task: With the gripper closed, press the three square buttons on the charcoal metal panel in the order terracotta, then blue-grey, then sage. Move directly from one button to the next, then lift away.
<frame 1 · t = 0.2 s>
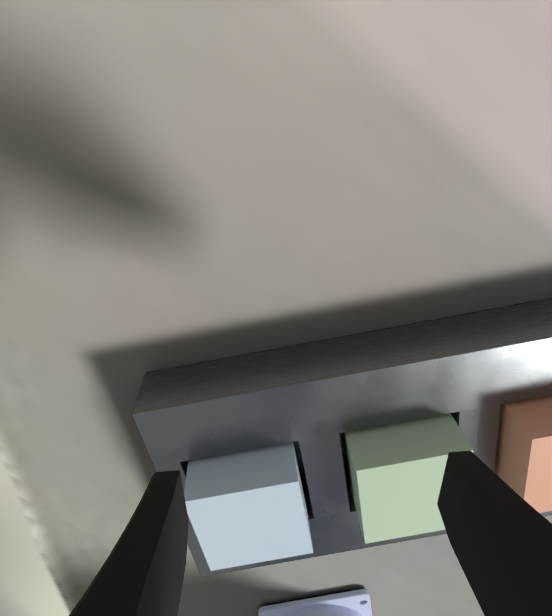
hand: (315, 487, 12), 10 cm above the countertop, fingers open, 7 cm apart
sage button: (404, 473, 21), point 3 cm above the countertop, slide at 0.0 cm
blue-grey button: (251, 500, 21), point 3 cm above the countertop, slide at 0.0 cm
button panel: (383, 422, 24), on the countertop
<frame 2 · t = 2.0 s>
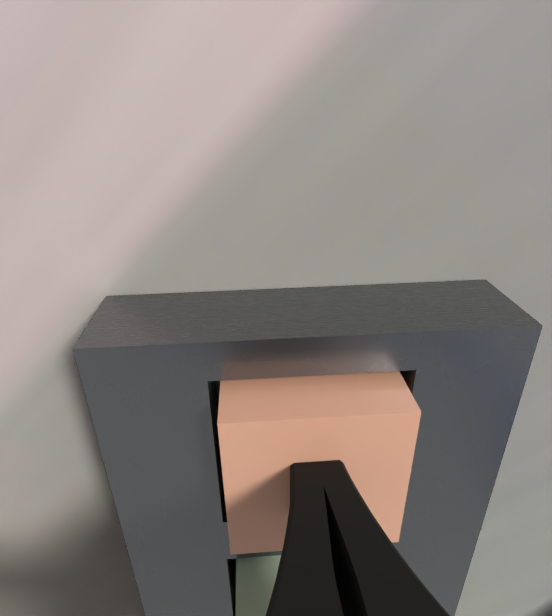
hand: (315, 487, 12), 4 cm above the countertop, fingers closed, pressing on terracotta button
sage button: (308, 614, 16), point 4 cm above the countertop, slide at 0.0 cm
terracotta button: (310, 448, 13), point 3 cm above the countertop, slide at 0.7 cm, touching gripper
button panel: (297, 527, 19), on the countertop
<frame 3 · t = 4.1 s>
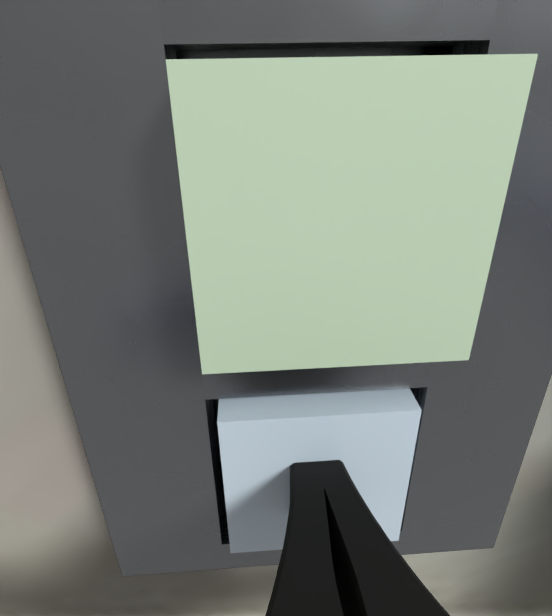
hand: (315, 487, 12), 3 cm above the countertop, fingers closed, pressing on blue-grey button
sage button: (328, 212, 8), point 3 cm above the countertop, slide at 0.0 cm
blue-grey button: (310, 446, 13), point 2 cm above the countertop, slide at 1.5 cm, touching gripper
button panel: (305, 176, 11), on the countertop
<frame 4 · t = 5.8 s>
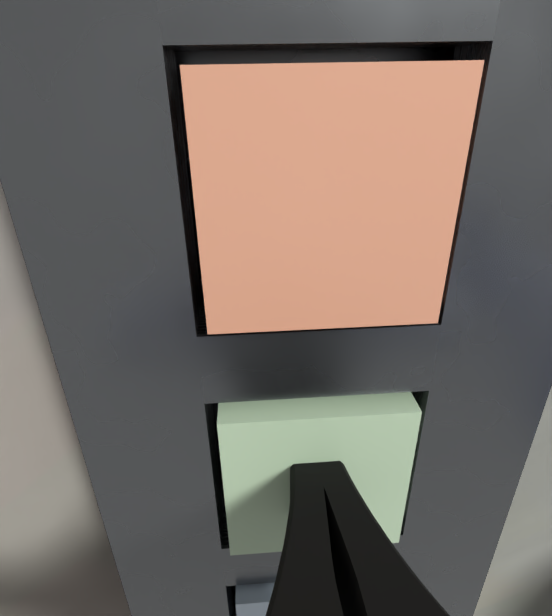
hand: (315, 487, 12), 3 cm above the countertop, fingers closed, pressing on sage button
sage button: (310, 448, 13), point 2 cm above the countertop, slide at 1.6 cm, touching gripper
terracotta button: (316, 195, 10), point 2 cm above the countertop, slide at 1.6 cm
blue-grey button: (306, 594, 16), point 2 cm above the countertop, slide at 1.6 cm
button panel: (302, 406, 15), on the countertop
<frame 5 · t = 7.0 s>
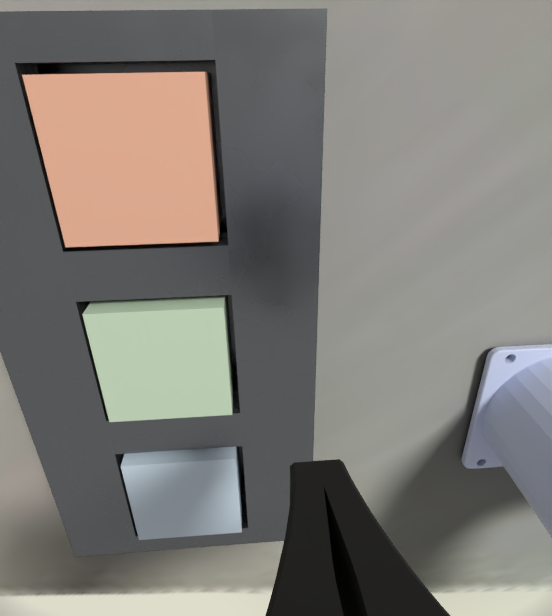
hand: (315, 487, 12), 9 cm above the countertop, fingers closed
sage button: (168, 347, 18), point 2 cm above the countertop, slide at 1.6 cm
terracotta button: (139, 158, 15), point 2 cm above the countertop, slide at 1.6 cm
blue-grey button: (188, 475, 22), point 2 cm above the countertop, slide at 1.6 cm
button panel: (175, 324, 20), on the countertop
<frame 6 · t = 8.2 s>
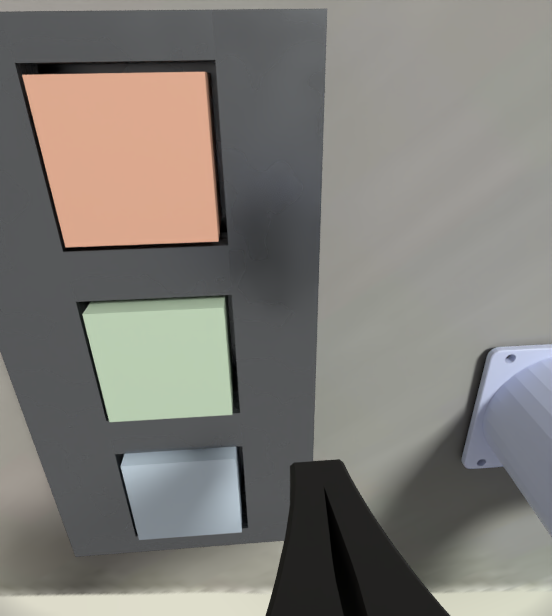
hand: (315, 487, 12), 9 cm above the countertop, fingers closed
sage button: (168, 347, 18), point 2 cm above the countertop, slide at 1.6 cm
terracotta button: (139, 158, 15), point 2 cm above the countertop, slide at 1.6 cm
blue-grey button: (188, 475, 22), point 2 cm above the countertop, slide at 1.6 cm
button panel: (175, 324, 20), on the countertop
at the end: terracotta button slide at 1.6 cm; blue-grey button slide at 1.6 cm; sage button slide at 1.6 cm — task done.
